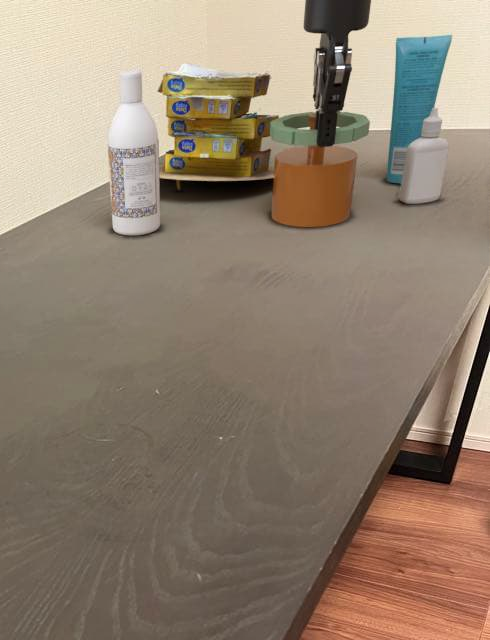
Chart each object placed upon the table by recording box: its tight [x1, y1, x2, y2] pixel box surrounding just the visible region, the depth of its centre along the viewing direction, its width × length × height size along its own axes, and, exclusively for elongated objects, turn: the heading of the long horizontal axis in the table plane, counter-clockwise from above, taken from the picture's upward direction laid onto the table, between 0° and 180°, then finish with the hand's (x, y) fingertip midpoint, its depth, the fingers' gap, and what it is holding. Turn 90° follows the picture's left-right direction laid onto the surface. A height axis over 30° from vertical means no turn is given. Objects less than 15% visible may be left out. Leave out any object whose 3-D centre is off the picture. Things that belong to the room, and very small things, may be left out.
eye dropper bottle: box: [398, 107, 450, 205], centre depth 111 cm, size 4×6×12 cm
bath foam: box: [107, 69, 161, 236], centre depth 109 cm, size 7×7×20 cm
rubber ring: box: [269, 111, 371, 147], centre depth 107 cm, size 13×13×2 cm
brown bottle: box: [270, 112, 358, 228], centre depth 110 cm, size 11×11×13 cm
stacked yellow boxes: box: [157, 62, 280, 191], centre depth 126 cm, size 25×25×17 cm
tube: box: [385, 34, 453, 185], centre depth 117 cm, size 7×5×19 cm, turn 85°
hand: (323, 143), depth 103 cm, fingers closed on rubber ring, 2 cm apart
